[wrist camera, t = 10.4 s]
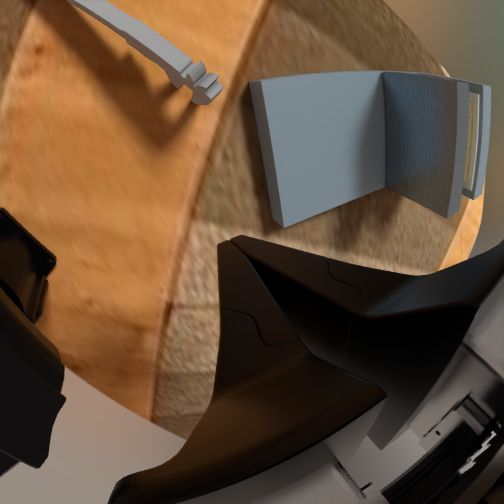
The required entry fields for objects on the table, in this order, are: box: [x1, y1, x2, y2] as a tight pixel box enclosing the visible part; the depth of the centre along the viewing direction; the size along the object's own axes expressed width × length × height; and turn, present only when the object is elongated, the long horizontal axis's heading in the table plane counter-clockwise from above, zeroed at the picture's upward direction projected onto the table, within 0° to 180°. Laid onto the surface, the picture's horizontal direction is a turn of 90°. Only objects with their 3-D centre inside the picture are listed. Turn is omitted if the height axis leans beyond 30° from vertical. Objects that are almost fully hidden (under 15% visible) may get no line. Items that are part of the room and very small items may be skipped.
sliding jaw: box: [383, 72, 469, 219], centre depth 21 cm, size 3×12×8 cm, turn 11°
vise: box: [249, 71, 491, 228], centre depth 21 cm, size 22×12×10 cm, turn 101°
